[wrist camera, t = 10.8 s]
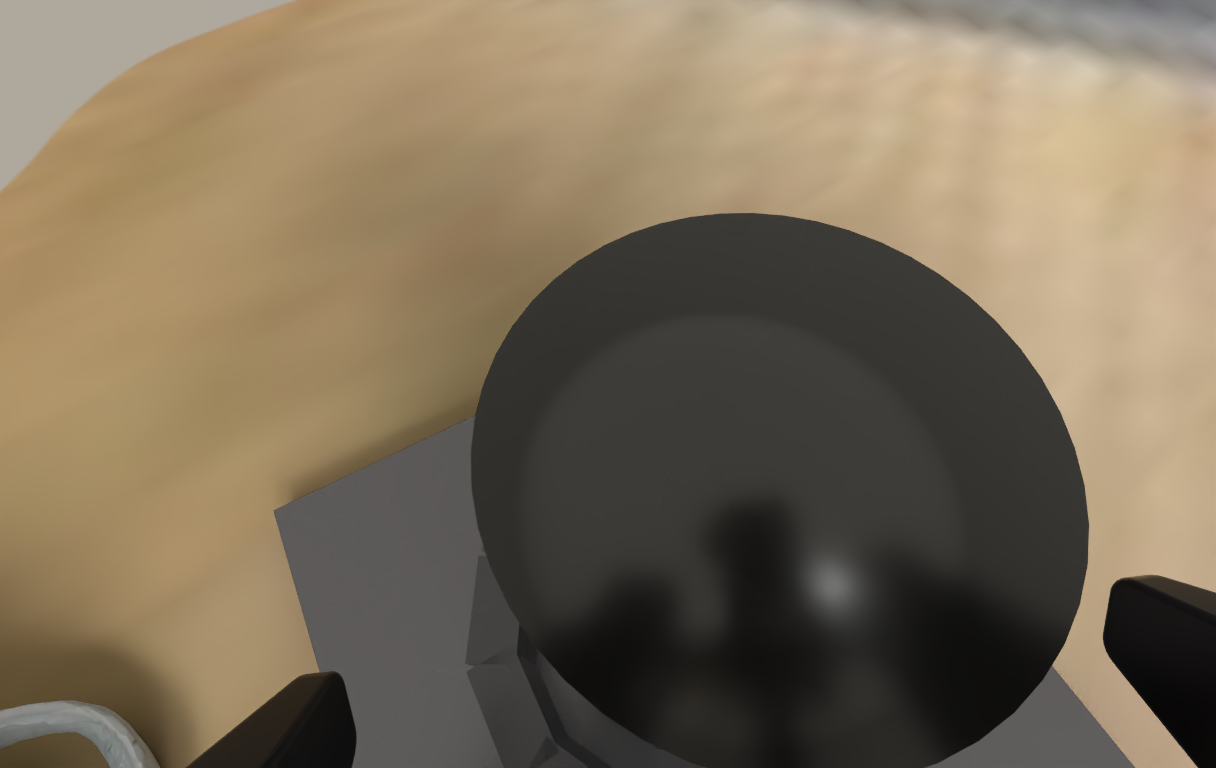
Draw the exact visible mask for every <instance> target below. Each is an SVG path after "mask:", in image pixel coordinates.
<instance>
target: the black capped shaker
mask: <svg viewBox="0 0 1216 768" xmlns="http://www.w3.org/2000/svg"><path fill="white" fill-rule="evenodd" d="M471 485H472V495H473V501H474V507H475V513H476V519H477V525H478V530H479V533H480V536H481V539H482V543H483V546H484V549H485V552H486V555H487V559H488V562H489V565H490V568H491V570H492V572H493V574H494V576H495V578H496V581H497V583H498V585H499V587H500V589H501V591H502V593H503V595H504V598H505V600H506V602H507V604H508V606H509V608H510V609H511V611H512V612H513V614H514V615H515V617H516V618H517V620H518V621H519V623H520V624H521V626H522V628H523V629H524V631H525V632H526V634H527V635H528V637H529V638H530V640H531V641H532V643H533V644H534V646H535V647H536V648H537V649H538V650H539V651H540V652H541V654H542V655H543V656H544V657H545V658H546V659H547V661H548V662H549V663H550V664H551V665H552V666H553V667H554V669H555V670H556V671H557V672H558V673H559V674H560V676H561V677H562V678H563V679H564V680H565V681H566V682H567V683H568V684H569V685H571V686H572V687H573V688H574V689H575V690H576V691H577V692H579V693H580V694H581V695H582V696H583V697H584V698H585V699H587V700H588V701H589V702H590V703H591V704H592V705H593V706H594V707H596V708H597V709H598V710H599V711H600V712H601V713H603V714H604V715H606V716H607V717H609V718H610V719H612V720H613V721H615V722H616V723H618V724H619V725H621V726H622V727H624V728H626V729H627V730H629V731H630V732H632V733H633V734H635V735H636V736H638V737H639V738H641V739H642V740H644V741H646V742H648V743H650V744H652V745H654V746H656V747H658V748H660V749H663V750H665V751H667V752H669V753H671V754H673V755H675V756H677V757H679V758H681V759H684V760H686V761H688V762H690V763H693V764H696V765H699V766H702V767H706V768H925V767H928V766H931V765H934V764H937V763H939V762H941V761H943V760H945V759H947V758H949V757H950V756H952V755H954V754H956V753H958V752H960V751H961V750H963V749H965V748H967V747H969V746H971V745H973V744H974V743H976V742H978V741H980V740H981V739H982V738H983V737H985V736H986V735H987V734H988V733H990V732H991V731H992V730H993V729H995V728H996V727H997V726H998V725H1000V724H1001V723H1002V722H1003V721H1005V720H1006V719H1007V718H1008V717H1010V716H1011V715H1012V714H1014V713H1015V712H1016V710H1017V709H1018V708H1019V707H1020V706H1021V705H1022V704H1023V702H1024V701H1025V700H1026V699H1027V698H1028V697H1029V695H1030V694H1031V693H1032V692H1033V691H1034V690H1035V689H1036V687H1037V686H1038V685H1039V684H1040V683H1041V682H1042V681H1043V679H1044V678H1045V676H1046V674H1047V673H1048V671H1049V669H1050V668H1051V666H1052V664H1053V662H1054V661H1055V659H1056V657H1057V656H1058V654H1059V652H1060V651H1061V649H1062V647H1063V646H1064V644H1065V642H1066V639H1067V637H1068V634H1069V631H1070V629H1071V626H1072V623H1073V621H1074V618H1075V615H1076V613H1077V610H1078V608H1079V605H1080V600H1081V595H1082V590H1083V585H1084V580H1085V575H1086V570H1087V564H1088V536H1089V521H1088V513H1087V504H1086V495H1085V487H1084V482H1083V478H1082V474H1081V470H1080V467H1079V463H1078V459H1077V455H1076V451H1075V447H1074V445H1073V443H1072V440H1071V438H1070V435H1069V433H1068V430H1067V428H1066V425H1065V423H1064V420H1063V418H1062V415H1061V413H1060V411H1059V409H1058V407H1057V405H1056V404H1055V402H1054V400H1053V398H1052V396H1051V394H1050V393H1049V391H1048V389H1047V387H1046V385H1045V384H1044V382H1043V380H1042V378H1041V377H1040V376H1039V374H1038V373H1037V371H1036V370H1035V369H1034V367H1033V366H1032V364H1031V363H1030V361H1029V360H1028V359H1027V357H1026V356H1025V354H1024V353H1023V352H1022V350H1021V349H1020V348H1019V347H1018V345H1017V344H1016V343H1015V342H1014V341H1013V340H1012V339H1011V338H1010V336H1009V335H1008V334H1007V333H1006V332H1005V331H1004V330H1003V329H1002V327H1001V326H1000V325H999V324H998V323H997V322H996V321H995V320H994V319H993V318H992V317H991V316H990V315H989V314H988V313H987V312H985V311H984V310H983V309H982V308H981V307H980V306H979V305H978V304H977V303H976V302H975V301H973V300H972V299H971V298H970V297H969V296H968V295H966V294H965V293H964V292H962V291H961V290H960V289H958V288H957V287H956V286H954V285H953V284H952V283H950V282H949V281H948V280H946V279H945V278H944V277H942V276H941V275H939V274H938V273H936V272H935V271H933V270H931V269H930V268H928V267H926V266H925V265H923V264H921V263H920V262H918V261H916V260H915V259H913V258H912V257H910V256H908V255H906V254H903V253H901V252H899V251H897V250H895V249H893V248H891V247H889V246H887V245H885V244H883V243H881V242H878V241H876V240H873V239H870V238H868V237H865V236H863V235H860V234H857V233H855V232H852V231H849V230H846V229H842V228H839V227H835V226H831V225H828V224H824V223H820V222H817V221H811V220H805V219H800V218H794V217H788V216H781V215H768V214H756V213H733V214H714V215H705V216H696V217H689V218H684V219H680V220H675V221H670V222H666V223H661V224H658V225H655V226H652V227H649V228H646V229H643V230H639V231H636V232H633V233H631V234H628V235H626V236H624V237H622V238H620V239H617V240H615V241H613V242H611V243H609V244H606V245H604V246H602V247H601V248H599V249H597V250H596V251H594V252H592V253H591V254H589V255H587V256H586V257H584V258H582V259H581V260H579V261H577V262H576V263H575V264H574V265H572V266H571V267H570V268H568V269H567V270H566V271H564V272H563V273H562V274H561V275H559V276H558V277H557V278H555V279H554V280H553V281H552V282H551V283H550V284H549V285H548V286H547V287H546V288H545V289H544V290H543V291H542V292H541V293H540V294H539V295H538V296H537V297H536V298H535V299H534V300H533V301H532V302H531V303H530V304H529V306H528V307H527V308H526V310H525V311H524V312H523V313H522V315H521V316H520V317H519V318H518V320H517V321H516V322H515V324H514V325H513V326H512V328H511V330H510V331H509V333H508V335H507V336H506V338H505V340H504V341H503V343H502V345H501V347H500V348H499V350H498V352H497V353H496V356H495V358H494V360H493V363H492V365H491V368H490V370H489V372H488V375H487V377H486V380H485V382H484V384H483V388H482V392H481V396H480V400H479V403H478V407H477V411H476V415H475V421H474V429H473V437H472V446H471Z"/></svg>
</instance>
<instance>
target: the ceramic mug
mask: <svg viewBox="0 0 1216 768" xmlns="http://www.w3.org/2000/svg"><path fill="white" fill-rule="evenodd" d="M70 732H75V733H79V734H80V735H82V736H84V737H86V738H88V739H90V740H91V741H92V742H93V743H94V744H95V745H96V747H97V748H98V749H99V751H100V752H101V753H102V755H103V756H104V758H105V759H106V761H107V763H108V765H109V766H110V768H160V766H159V764H158V763H157V761H156V759H155V757H154V756H153V754H152V752H151V751H150V749H149V748H148V746H147V745H146V744H145V743H144V741H143V740H142V739H141V738H140V737H139V735H138V734H137V733H136V732H135V730H134V729H133V728H132V727H131V726H130V724H129V723H127V722H126V721H125V720H124V719H123V718H121V717H120V716H119V715H118V714H116V713H115V712H114V711H112V710H110V709H107V708H106V707H104V706H102V705H95V704H90V703H85V702H80V701H74V700H59V701H51V702H43V703H34V704H24V705H21V706H17V707H14V708H9V709H3V710H0V749H2V748H4V747H7V746H9V745H12V744H14V743H17V742H19V741H23V740H27V739H31V738H35V737H39V736H45V735H50V734H53V733H55V734H57V733H70Z"/></svg>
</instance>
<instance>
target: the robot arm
mask: <svg viewBox="0 0 1216 768" xmlns="http://www.w3.org/2000/svg"><path fill="white" fill-rule="evenodd" d="M1103 642H1104V646H1105V649H1106V652H1107V653H1108V655H1109V657H1110V659H1111V660H1112V662H1113V663H1114V664H1115V665H1116V667H1117V668H1118V669H1119V670H1120V672H1121V673H1122V674H1123V675H1124V677H1125V678H1126V679H1127V680H1128V681H1129V683H1130V684H1131V685H1132V686H1133V688H1134V689H1135V690H1136V691H1137V693H1138V694H1139V695H1140V696H1141V698H1142V699H1143V700H1144V701H1145V703H1146V704H1147V705H1148V706H1149V708H1150V709H1151V710H1152V711H1153V713H1154V714H1155V715H1156V716H1157V717H1158V719H1159V720H1160V721H1161V722H1162V724H1163V725H1164V726H1165V727H1166V729H1167V730H1168V731H1169V732H1170V734H1171V735H1172V736H1173V737H1174V739H1175V740H1176V741H1177V742H1178V744H1179V745H1180V746H1181V747H1182V748H1183V750H1184V751H1185V752H1186V753H1187V755H1188V756H1189V757H1190V758H1191V760H1192V761H1193V762H1194V763H1195V765H1196V766H1197V767H1198V768H1216V593H1215V592H1212V591H1209V590H1205V589H1202V588H1199V587H1195V586H1192V585H1189V584H1186V583H1182V582H1179V581H1176V580H1172V579H1169V578H1166V577H1162V576H1158V575H1143V576H1135V577H1126V578H1121V579H1119V580H1117V581H1116V582H1115V583H1114V584H1113V586H1112V588H1111V591H1110V597H1109V603H1108V608H1107V614H1106V620H1105V626H1104V632H1103ZM356 743H357V735H356V727H355V723H354V718H353V714H352V710H351V706H350V702H349V698H348V694H347V690H346V686H345V683H344V680H343V678H342V676H341V675H340V674H339V673H338V672H335V671H329V672H320V673H312V674H305V675H301V676H299V677H298V678H296V679H295V680H293V681H292V682H291V683H290V684H288V685H287V686H286V687H285V688H283V689H282V690H281V691H280V692H278V693H277V694H276V695H275V696H274V697H272V698H271V699H270V700H269V701H267V702H266V703H265V704H264V705H262V706H261V707H260V708H259V709H257V710H256V711H255V712H254V713H252V714H251V715H250V716H249V717H248V718H246V719H245V720H244V721H243V722H241V723H240V724H239V725H238V726H236V727H235V728H234V729H233V730H231V731H230V732H229V733H228V734H227V735H225V736H224V737H223V738H222V739H220V740H219V741H218V742H217V743H215V744H214V745H213V746H212V747H210V748H209V749H208V750H207V751H205V752H204V753H203V754H202V755H201V756H199V757H198V758H197V759H196V760H194V761H193V762H192V763H191V764H189V765H188V766H187V767H186V768H352V765H353V761H354V757H355V751H356Z"/></svg>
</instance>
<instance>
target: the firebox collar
mask: <svg viewBox="0 0 1216 768" xmlns="http://www.w3.org/2000/svg"><path fill="white" fill-rule="evenodd" d="M474 421H475V416H473V417H471V418H469V419H467V420H464V421H462V422H460V423H458V424H456V425H454V426H452V427H450V428H447V429H445V430H443V431H441V432H439V433H437V434H435V435H433V436H431V437H428V438H426V439H424V440H422V441H420V442H418V443H416V444H414V445H411V446H409V447H407V448H405V449H403V450H401V451H399V452H397V453H395V454H392V455H390V456H388V457H386V458H384V459H382V460H380V461H378V462H376V463H373V464H371V465H369V466H367V467H365V468H363V469H361V470H359V471H356V472H354V473H352V474H350V475H348V476H346V477H344V478H342V479H340V480H337V481H335V482H333V483H331V484H329V485H327V486H325V487H323V488H321V489H318V490H316V491H314V492H312V493H310V494H308V495H306V496H304V497H301V498H299V499H297V500H295V501H293V502H291V503H289V504H287V505H285V506H282V507H280V508H278V509H276V510H274V514H275V518H276V521H277V524H278V528H279V531H280V535H281V538H282V542H283V545H284V549H285V552H286V556H287V559H288V563H289V566H290V570H291V573H292V577H293V580H294V584H295V587H296V591H297V594H298V598H299V601H300V605H301V608H302V612H303V615H304V618H305V622H306V625H307V629H308V632H309V636H310V639H311V643H312V646H313V650H314V653H315V657H316V660H317V664H318V667H319V671H320V672H329V671H335V672H338V673H339V674H340V675H341V676H342V678H343V680H344V683H345V686H346V690H347V694H348V698H349V702H350V706H351V710H352V714H353V718H354V723H355V727H356V735H357V743H356V751H355V757H354V761H353V765H352V768H706V767H702V766H699V765H696V764H693V763H690V762H688V761H686V760H684V759H681V758H679V757H677V756H675V755H673V754H671V753H669V752H667V751H665V750H663V749H660V748H658V747H656V746H654V745H652V744H650V743H648V742H646V741H644V740H642V739H641V738H639V737H638V736H636V735H635V734H633V733H632V732H630V731H629V730H627V729H626V728H624V727H622V726H621V725H619V724H618V723H616V722H615V721H613V720H612V719H610V718H609V717H607V716H606V715H604V714H603V713H601V712H600V711H599V710H598V709H597V708H596V707H594V706H593V705H592V704H591V703H590V702H589V701H588V700H587V699H585V698H584V697H583V696H582V695H581V694H580V693H579V692H577V691H576V690H575V689H574V688H573V687H572V686H571V685H569V684H568V683H567V682H566V681H565V680H564V679H563V678H562V677H561V676H560V674H559V673H558V672H557V671H556V670H555V669H554V667H553V666H552V665H551V664H550V663H549V662H548V661H547V659H546V658H545V657H544V656H543V655H542V654H541V652H540V651H539V650H538V649H537V648H536V647H535V646H534V644H533V643H532V641H531V640H530V638H529V637H528V635H527V634H526V632H525V631H524V629H523V628H522V626H521V624H520V623H519V621H518V620H517V618H516V617H515V615H514V614H513V612H512V611H511V609H510V608H509V606H508V604H507V602H506V600H505V598H504V595H503V593H502V591H501V589H500V587H499V585H498V583H497V581H496V578H495V576H494V574H493V572H492V570H491V568H490V565H489V562H488V559H487V555H486V552H485V549H484V546H483V543H482V539H481V536H480V533H479V530H478V525H477V519H476V513H475V507H474V501H473V495H472V485H471V446H472V437H473V429H474ZM925 768H1135V767H1134V766H1133V765H1132V763H1131V762H1130V761H1129V760H1128V758H1127V757H1126V756H1125V755H1124V754H1123V752H1122V751H1121V750H1120V749H1119V747H1118V746H1117V745H1116V744H1115V743H1114V741H1113V740H1112V739H1111V738H1110V736H1109V735H1108V734H1107V733H1106V731H1105V730H1104V729H1103V728H1102V727H1101V725H1100V724H1099V723H1098V722H1097V720H1096V719H1095V718H1094V717H1093V716H1092V714H1091V713H1090V712H1089V711H1088V709H1087V708H1086V707H1085V706H1084V705H1083V703H1082V702H1081V701H1080V700H1079V698H1078V697H1077V696H1076V695H1075V694H1074V692H1073V691H1072V690H1071V689H1070V687H1069V686H1068V685H1067V684H1066V683H1065V681H1064V680H1063V679H1062V678H1061V676H1060V675H1059V674H1058V673H1057V672H1056V670H1055V669H1054V668H1053V667H1052V666H1051V668H1050V669H1049V671H1048V673H1047V674H1046V676H1045V678H1044V679H1043V681H1042V682H1041V683H1040V684H1039V685H1038V686H1037V687H1036V689H1035V690H1034V691H1033V692H1032V693H1031V694H1030V695H1029V697H1028V698H1027V699H1026V700H1025V701H1024V702H1023V704H1022V705H1021V706H1020V707H1019V708H1018V709H1017V710H1016V712H1015V713H1014V714H1012V715H1011V716H1010V717H1008V718H1007V719H1006V720H1005V721H1003V722H1002V723H1001V724H1000V725H998V726H997V727H996V728H995V729H993V730H992V731H991V732H990V733H988V734H987V735H986V736H985V737H983V738H982V739H981V740H980V741H978V742H976V743H974V744H973V745H971V746H969V747H967V748H965V749H963V750H961V751H960V752H958V753H956V754H954V755H952V756H950V757H949V758H947V759H945V760H943V761H941V762H939V763H937V764H934V765H931V766H928V767H925Z"/></svg>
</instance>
